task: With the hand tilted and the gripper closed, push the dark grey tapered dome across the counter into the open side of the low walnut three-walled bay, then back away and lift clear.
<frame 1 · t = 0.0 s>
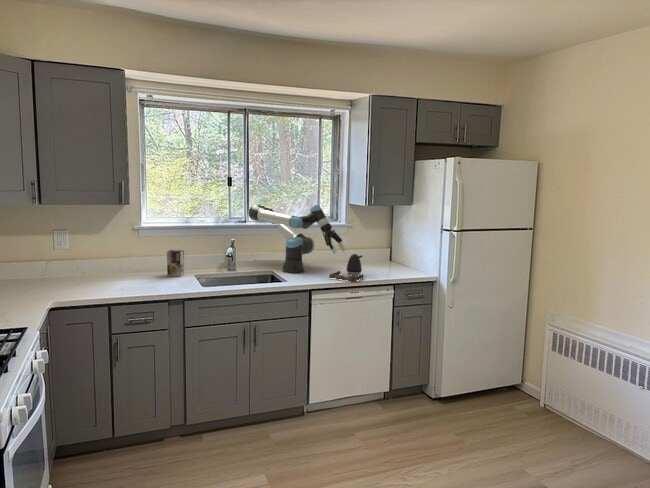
hand: (339, 251, 332), 15 cm above the worktop, tool tilted 35°, fingers open, 13 cm apart
walnut bay: (346, 278, 317), on the worktop
coffee box: (175, 275, 308), on the worktop
dark grey tapered dome: (353, 276, 327), on the worktop
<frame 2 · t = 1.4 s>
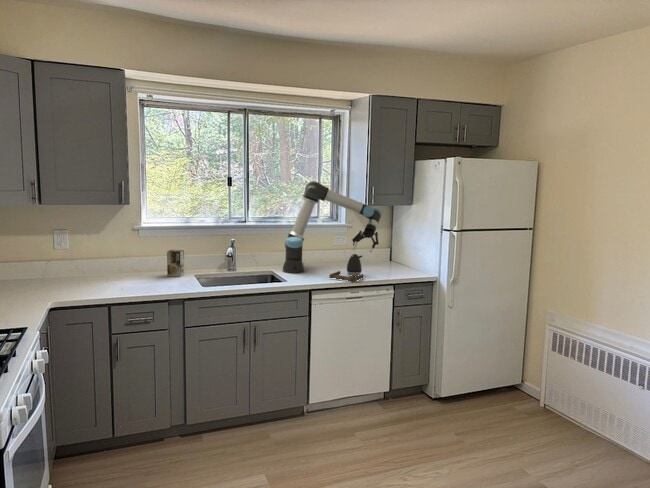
hand: (361, 250, 335), 16 cm above the worktop, tool tilted 45°, fingers open, 12 cm apart
nothing on the worktop moved.
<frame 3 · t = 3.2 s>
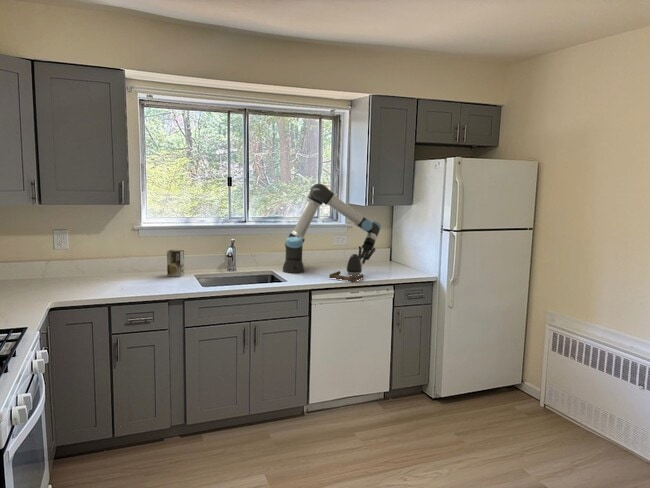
hand: (360, 266, 334), 5 cm above the worktop, tool tilted 45°, fingers closed
nothing on the worktop moved.
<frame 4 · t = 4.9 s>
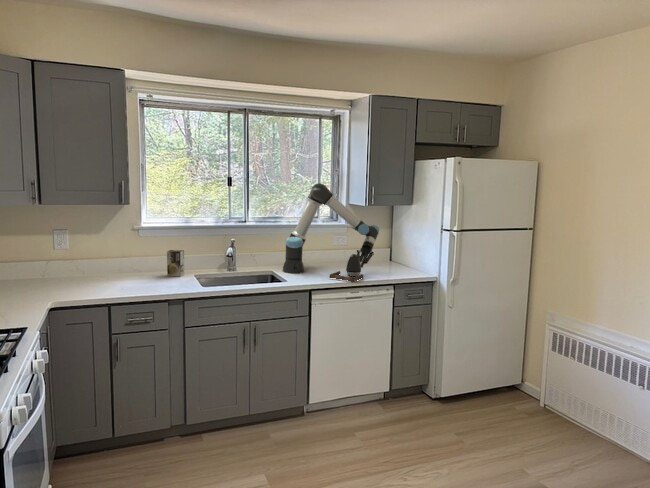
hand: (358, 270, 331), 3 cm above the worktop, tool tilted 45°, fingers closed
dark grey tapered dome: (353, 276, 326), on the worktop, touching gripper
everything else where it was.
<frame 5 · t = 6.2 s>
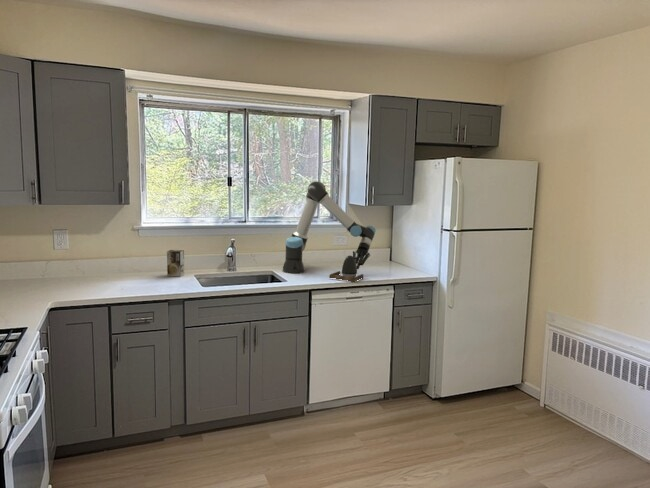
hand: (353, 272, 324), 3 cm above the worktop, tool tilted 45°, fingers closed
dark grey tapered dome: (349, 278, 320), on the worktop, touching gripper
everything else where it was.
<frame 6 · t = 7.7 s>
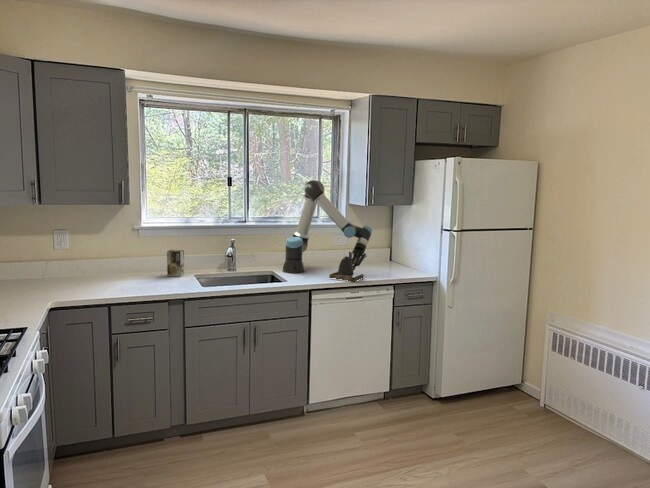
hand: (349, 273, 321), 3 cm above the worktop, tool tilted 45°, fingers closed
dark grey tapered dome: (345, 279, 315), on the worktop, touching gripper, walnut bay
everything else where it was.
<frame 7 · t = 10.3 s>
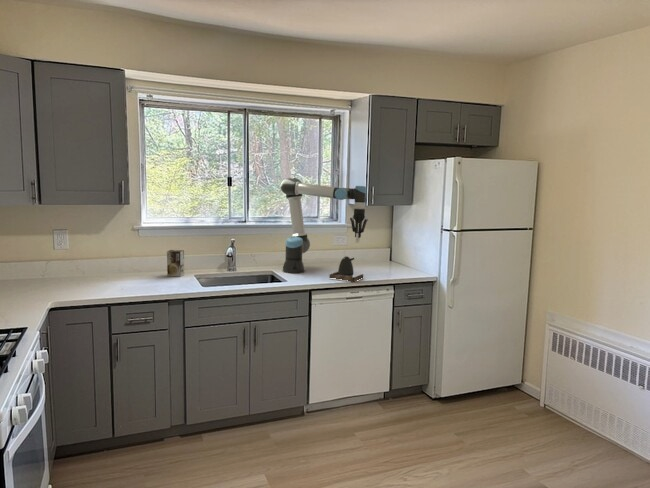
hand: (357, 242, 335), 22 cm above the worktop, tool pointing down, fingers closed
dark grey tapered dome: (345, 279, 316), on the worktop
everything else where it was.
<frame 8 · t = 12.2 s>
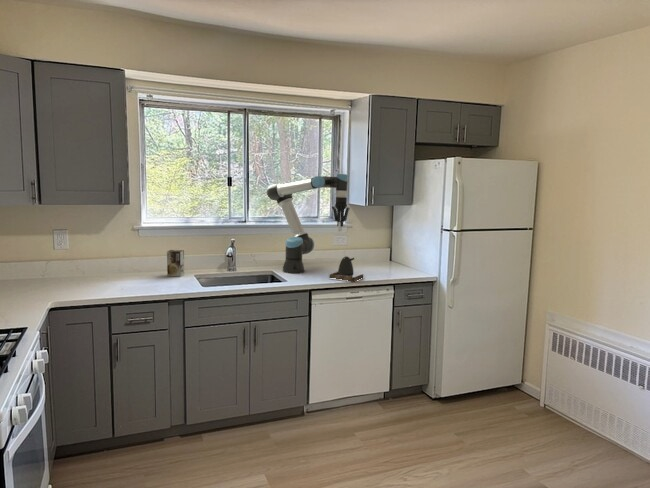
hand: (339, 231, 331), 29 cm above the worktop, tool pointing down, fingers closed
nothing on the worktop moved.
at the end: dark grey tapered dome inside the target area on the walnut bay (1.8 cm from its centre), point 0.0 cm above the walnut bay's base; dark grey tapered dome tilted 0°; dark grey tapered dome moved 13.3 cm from its start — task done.
